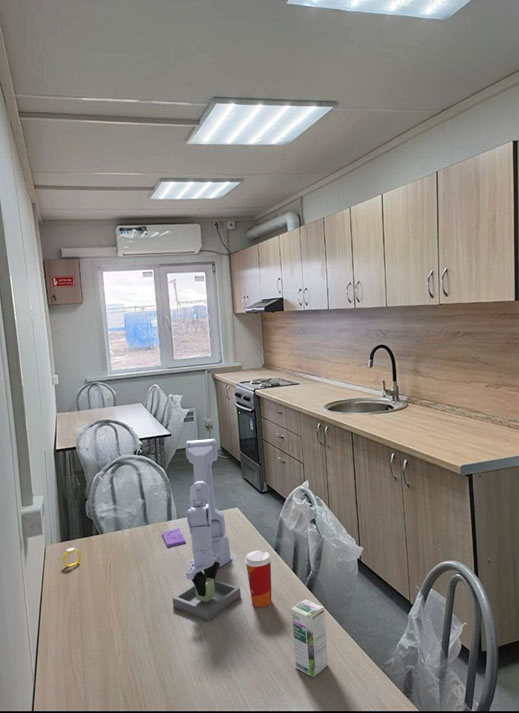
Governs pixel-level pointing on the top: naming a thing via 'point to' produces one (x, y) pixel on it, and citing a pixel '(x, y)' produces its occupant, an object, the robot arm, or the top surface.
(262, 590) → the pill bottle
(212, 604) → the tray
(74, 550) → the gold ring
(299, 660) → the syrup box
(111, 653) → the top surface
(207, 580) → the green block
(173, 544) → the sponges
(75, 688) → the top surface
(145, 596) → the top surface
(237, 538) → the top surface
